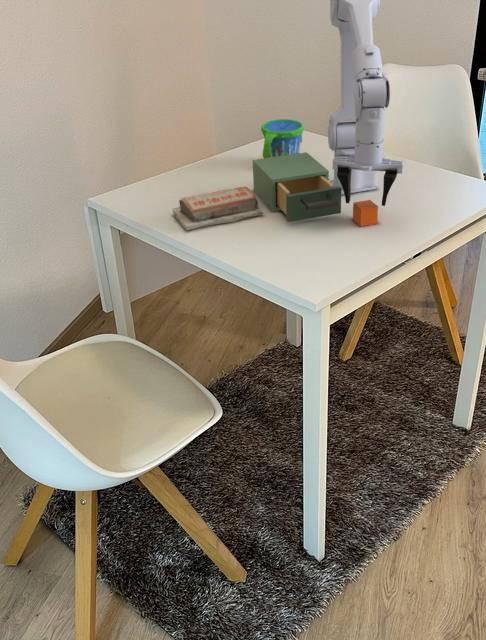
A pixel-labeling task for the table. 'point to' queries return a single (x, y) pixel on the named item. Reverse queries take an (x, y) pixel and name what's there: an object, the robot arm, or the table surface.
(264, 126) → the snack cup
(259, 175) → the small green cabinet
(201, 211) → the packaged product
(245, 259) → the table surface
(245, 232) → the table surface
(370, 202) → the cube
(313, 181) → the drawer
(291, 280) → the table surface
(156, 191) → the table surface
